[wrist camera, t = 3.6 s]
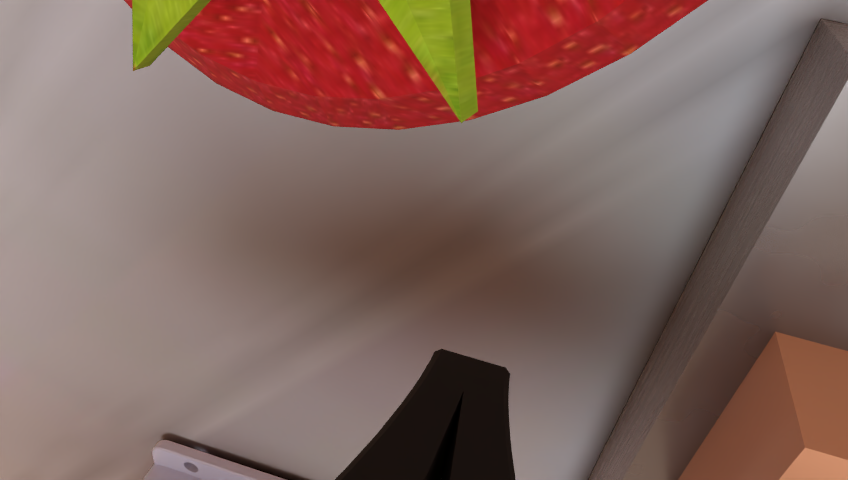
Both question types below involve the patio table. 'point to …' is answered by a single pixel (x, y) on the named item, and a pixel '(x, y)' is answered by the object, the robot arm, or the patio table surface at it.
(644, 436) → the grey plate
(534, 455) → the patio table surface
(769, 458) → the tile
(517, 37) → the strawberry
